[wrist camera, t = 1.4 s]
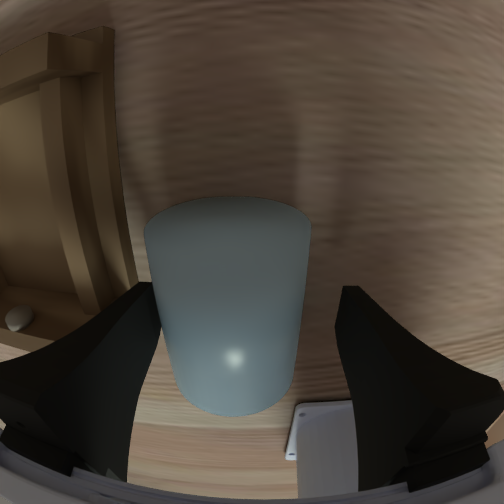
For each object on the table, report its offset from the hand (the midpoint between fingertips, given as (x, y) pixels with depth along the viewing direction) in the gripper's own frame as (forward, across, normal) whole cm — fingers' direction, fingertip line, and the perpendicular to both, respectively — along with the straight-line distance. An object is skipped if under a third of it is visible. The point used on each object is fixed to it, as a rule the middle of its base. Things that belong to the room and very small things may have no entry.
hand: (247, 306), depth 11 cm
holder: (+3, +11, -4) cm, 12 cm away
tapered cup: (+3, 0, 0) cm, 3 cm away
